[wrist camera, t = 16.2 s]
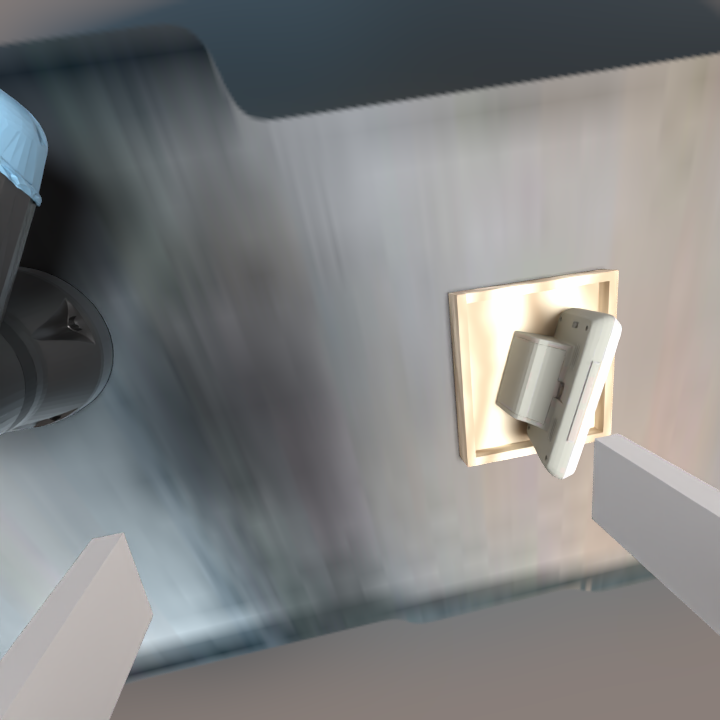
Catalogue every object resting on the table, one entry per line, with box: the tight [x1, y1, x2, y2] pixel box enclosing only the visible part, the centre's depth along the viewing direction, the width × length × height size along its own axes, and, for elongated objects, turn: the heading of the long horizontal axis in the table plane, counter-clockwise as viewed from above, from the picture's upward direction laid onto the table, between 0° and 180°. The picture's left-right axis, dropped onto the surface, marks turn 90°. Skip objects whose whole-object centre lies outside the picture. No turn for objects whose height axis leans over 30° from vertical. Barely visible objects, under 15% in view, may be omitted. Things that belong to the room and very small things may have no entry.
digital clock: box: [496, 308, 622, 479], centre depth 40 cm, size 16×9×11 cm, turn 159°
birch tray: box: [448, 269, 619, 467], centre depth 44 cm, size 18×20×2 cm
